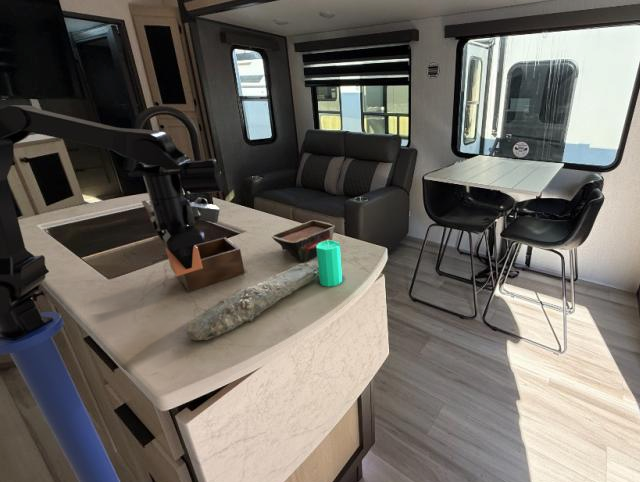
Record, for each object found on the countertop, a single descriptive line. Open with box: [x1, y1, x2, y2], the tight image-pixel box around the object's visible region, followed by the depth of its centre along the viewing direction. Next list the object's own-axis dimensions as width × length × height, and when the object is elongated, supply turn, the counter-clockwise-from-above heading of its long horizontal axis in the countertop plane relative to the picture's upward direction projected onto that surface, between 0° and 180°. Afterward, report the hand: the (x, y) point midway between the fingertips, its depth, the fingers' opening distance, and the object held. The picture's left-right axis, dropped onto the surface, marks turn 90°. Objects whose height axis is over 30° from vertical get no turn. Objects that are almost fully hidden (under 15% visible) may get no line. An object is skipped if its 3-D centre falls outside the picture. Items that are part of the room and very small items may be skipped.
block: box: [165, 245, 203, 277], centre depth 69 cm, size 5×5×5 cm
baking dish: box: [271, 219, 336, 263], centre depth 100 cm, size 14×18×10 cm
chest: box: [177, 236, 245, 293], centre depth 87 cm, size 14×12×7 cm
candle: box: [316, 239, 343, 288], centre depth 83 cm, size 6×6×12 cm
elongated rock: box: [185, 260, 319, 341], centre depth 76 cm, size 35×5×10 cm
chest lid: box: [141, 200, 160, 231], centre depth 77 cm, size 14×12×1 cm
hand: (185, 264), depth 70 cm, fingers closed on block, 5 cm apart
